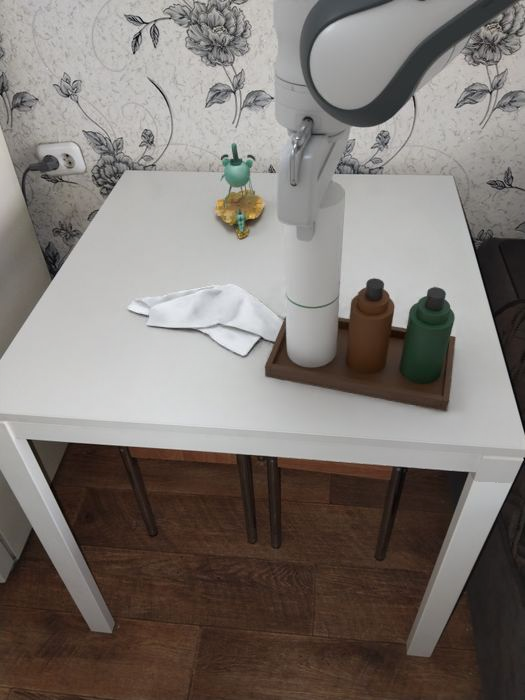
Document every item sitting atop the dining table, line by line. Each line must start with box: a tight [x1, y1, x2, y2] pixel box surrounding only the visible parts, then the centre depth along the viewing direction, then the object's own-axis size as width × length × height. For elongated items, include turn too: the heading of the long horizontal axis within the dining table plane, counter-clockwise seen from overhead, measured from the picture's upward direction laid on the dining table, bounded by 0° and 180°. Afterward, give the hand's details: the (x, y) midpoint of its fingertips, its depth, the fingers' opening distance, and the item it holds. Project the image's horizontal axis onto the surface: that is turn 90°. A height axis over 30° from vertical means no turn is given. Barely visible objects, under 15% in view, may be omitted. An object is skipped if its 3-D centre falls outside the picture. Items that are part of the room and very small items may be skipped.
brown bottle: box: [346, 277, 396, 374], centre depth 78 cm, size 6×6×14 cm
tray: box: [264, 315, 457, 412], centre depth 83 cm, size 25×13×2 cm, turn 73°
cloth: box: [127, 282, 284, 357], centre depth 91 cm, size 26×14×2 cm, turn 62°
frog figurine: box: [214, 142, 266, 239], centre depth 109 cm, size 10×18×15 cm, turn 169°
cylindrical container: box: [283, 179, 346, 368], centre depth 76 cm, size 7×7×25 cm
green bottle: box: [400, 286, 456, 384], centre depth 77 cm, size 6×6×14 cm
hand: (314, 218), depth 70 cm, fingers closed on cylindrical container, 7 cm apart
